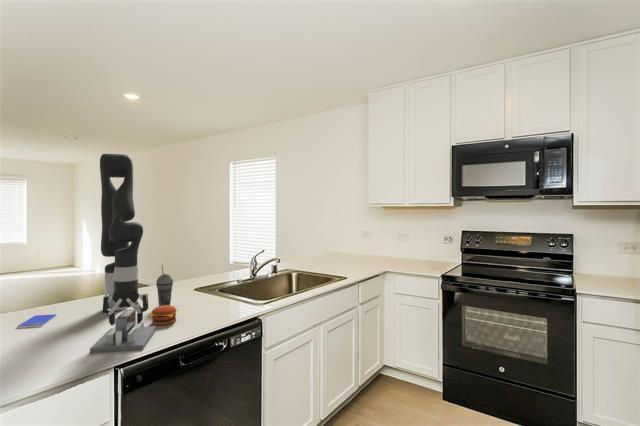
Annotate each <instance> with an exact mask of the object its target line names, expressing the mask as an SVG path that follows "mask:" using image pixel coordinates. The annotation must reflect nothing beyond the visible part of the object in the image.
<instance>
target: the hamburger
mask: <svg viewBox="0 0 640 426" xmlns="http://www.w3.org/2000/svg"><path fill="white" fill-rule="evenodd" d="M178 311H179V309H177V308H176V307H175V306H173V305H170V306H169V305H163V306H159V305H158V306H157V307H154V308H153V309H152V311H151V314H150V315H149V318H152V320H151V324H152V326H156V327H157V326H159V327H161V326H163V327H164V326H169V325H172V324H174V323H175V322H176V321H177V318H176V316H177V312H178Z"/></svg>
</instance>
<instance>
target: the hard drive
mask: <svg viewBox="0 0 640 426" xmlns="http://www.w3.org/2000/svg"><path fill="white" fill-rule="evenodd" d="M57 316H58V314H55V313H54V314H40V315H39V314H38V315H34V316H32V317H30V318H29V319H27V320H25V321H23V322H21V323H20V324H18V325H17V326H16V329H28V328H42V327H44V326H45V325H47V324H49V323H50V322H51V321H53V320H54V319H55V318H57Z"/></svg>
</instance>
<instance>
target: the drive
mask: <svg viewBox="0 0 640 426" xmlns="http://www.w3.org/2000/svg"><path fill="white" fill-rule="evenodd" d="M136 324H137V311H136V310H135V309H124V311H123V312H122V313H121V314H119V315H118V316H117V317H115V324H114V325H115V326H114V327H115V342H116V331H122V342H127V334H128V333H129V332H130V330H131V329H132V328H133V327H134V326H135V325H136Z"/></svg>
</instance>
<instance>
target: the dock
mask: <svg viewBox="0 0 640 426" xmlns="http://www.w3.org/2000/svg"><path fill="white" fill-rule="evenodd" d="M144 323H145V321H141V322H140V324H137V323H136V325H135V326H134V327H133V328H132V329H131V330H130V332H129V333H128V334H127V342H122V331H116V342H115V326H114V327H113V328H109V330H108V331H107V332H106V333H104V334H103V335H102V336H101V337H100V338H99V339H98V340H97V341H96V342H95V343H94V344H93V345H92V346H91V347H90V348H89V353H90V354H96V353H97V354H98V353H111V352H112V353H113V352H126V351H140V350H142V351H143V350H144V349H145V348H146V346H147V344H148V343H149V342H150V340H151V338H152V337H153V336H154V334H155V333H156V331H157V325H152V326H151V325H150V326H145V325H144Z"/></svg>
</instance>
